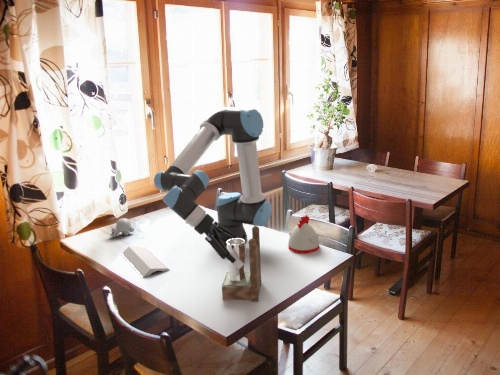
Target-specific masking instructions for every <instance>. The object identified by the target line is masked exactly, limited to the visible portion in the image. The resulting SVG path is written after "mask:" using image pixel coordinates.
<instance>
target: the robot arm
mask: <svg viewBox="0 0 500 375" xmlns="http://www.w3.org/2000/svg"><path fill="white" fill-rule="evenodd" d="M203 120H204V119H203ZM263 130H264V120H263V117H262V115H261V113H260V112H259V110H257V109H256V108H250V107H222V108H220V109H217V110H215V111H214V112H213V113H211V114H209V115H208V117H206V118H205V120H204V121H203V122H202V123H201V124H200V125H199V130H198V131H197V132H196V134H195V135H194V136H193V137H192V139H190V141H189V142H188V144H187V145H186V146H185V147H184V149H182V150H181V152H180V153H179V154H178V155H177V157H176V158H175V159H174V160H173V161H172V163H171V164H170V165H169V167H168V168H167V169H166V170H160V171H158V172H156V174H155V175H154V179H153V184H154V186H155V188H156V189H157V190H159V191H164V192H167V193H166V194H165V195H164V196H163V197H162V201H163V202H164V204H165V205H167V207H169V209H171V210H172V211H173V212H174V213H175V214H176V215H178V217H180V218H181V219H182V220H184V222H185V223H186V224H187V225H189V226H190V227H191V228H194V231H195V232H197V233H198V234H199V235H203V234H205V236H206V237H204V240H205V241H206V242H207V243H208V244H209V245H210V246H211V247H212V248H213V249H214V251H215V252H216V254H218V256H219V257H220V259H222V260H225V259H227V261H228V260H229V261H230V262H231V263H232V264H233V265H235V266H236V267H237V268H238V269H240V268H241V267H242V266H243V265H244V263H243V262H242V261H241V260H240V259H238V258H237V257H236V256H235V255H234V254H233V253H232V252H229V251H228V249H227V241H228V240H229V239H233V238H241V239H243V240H244V241H245V243H246V242H247V241H248V234H247V232H246V229H245V227H244V225H249V226H253V227H254V226H257V227H263V226H265V225H267V224H268V222H269V221H270V219H271V215H272V213H273V212H272V211H273V206H272V203H271V202H270V201H267V198H266V194H265V193H263V192H262V185H261V184H262V183H261V177H260V176H261V175H260V165H259V158H258V156H259V155H258V147H257V142H258V140H259V139H260V136H261V135H262V134H263ZM225 135H228V136H231V140H232V141H231V142H232V143H234V145H235V146H236V153H237V159H238V160H237V162H238V168H239V170H238V171H239V176H240V185H241V192H242V193H240V192H228V193H224V194H221V195H219V196H217V199H216V211H217V221H216V220H215V219H214V218H213V217H212V216H211V215H210V214H209V213H206V210H205V209H203V208H202V207H201V206H200V205H199V204H198V203H196V200H197V199H198V198H199V197H200V196H201V195H202V193H203V192H204V191H205V190H206V188H207V187H208V186H209V184H210V182H211V180H210V177H209V175H208V174H207V173H206V172H204V171H203V170H202V169H201V170H200V169H197V170H194V171H193V172H191V171H192V169H193V168H194V167H195V166H196V164H197V163H198V162H199V160H200V159H201V158H202V157H203V155H204V154H205V153H206V151H208V149H209V148H210V146H211V145H213V143H214V142H215V141H218V140H219V139H220V138H221V137H222V136H225ZM190 172H191V174H189V173H190ZM245 250H246V253H247V252H249V248H247V247H245ZM244 266H245V265H244Z"/></svg>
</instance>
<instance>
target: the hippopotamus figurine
mask: <svg viewBox="0 0 500 375" xmlns="http://www.w3.org/2000/svg"><path fill="white" fill-rule="evenodd" d="M115 223H116V225H115V226H114V227H112V226H110V228H111V233H110V232H109V234H108V235H109V236H110V237H111V236H112V237H115V236H116V237H117V236H118V235H119V234H120V233H121V234H122V233H124V234H129V235H130V233H133V232H134V231H135V228H134V227H133V226H132V224H131V221H130V219H128V218H126V217H125V218H124V217H122V218H119V219H117V222H115ZM124 234H123V235H124ZM112 237H111V238H112ZM116 237H115V238H116Z"/></svg>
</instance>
